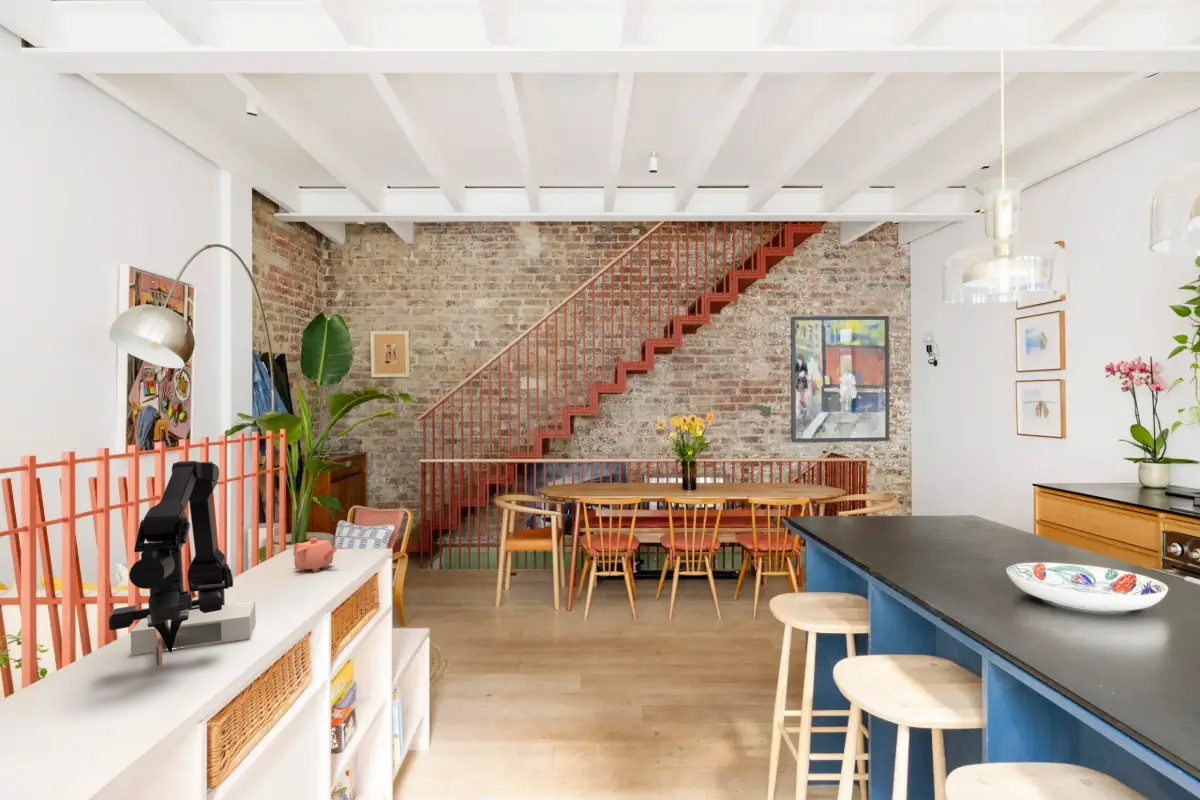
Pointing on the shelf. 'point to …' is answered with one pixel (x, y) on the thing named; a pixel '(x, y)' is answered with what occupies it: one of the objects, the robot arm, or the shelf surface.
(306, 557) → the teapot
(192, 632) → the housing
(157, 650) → the side door
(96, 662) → the shelf surface
